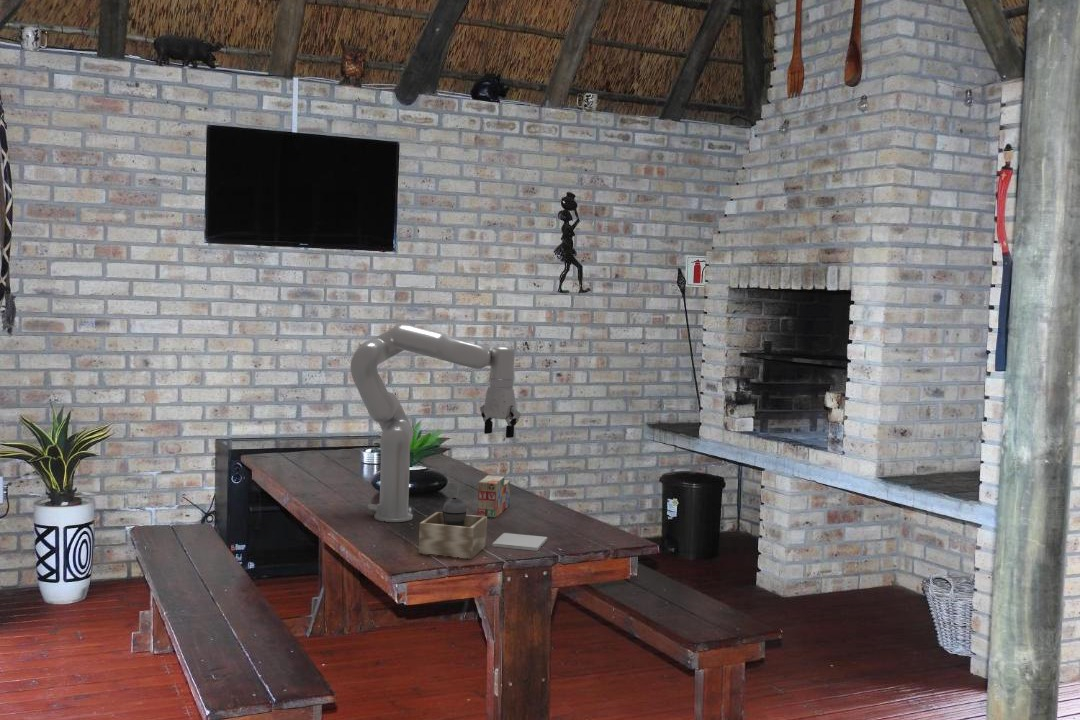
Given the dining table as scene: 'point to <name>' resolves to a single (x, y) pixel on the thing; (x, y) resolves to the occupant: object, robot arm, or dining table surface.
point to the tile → (519, 541)
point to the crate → (452, 536)
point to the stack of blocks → (493, 496)
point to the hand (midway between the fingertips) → (498, 435)
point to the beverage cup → (454, 511)
